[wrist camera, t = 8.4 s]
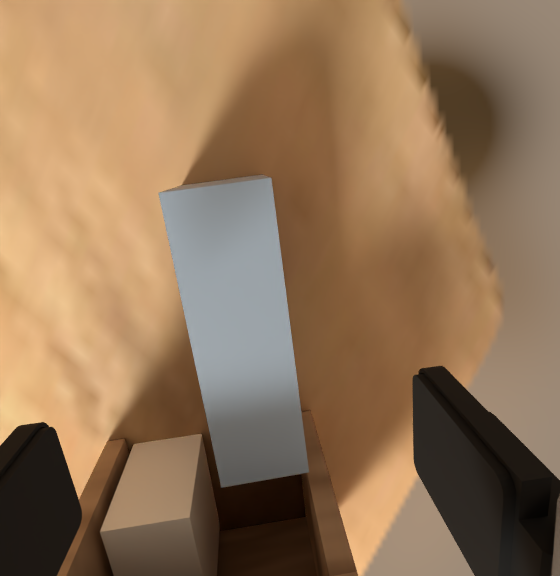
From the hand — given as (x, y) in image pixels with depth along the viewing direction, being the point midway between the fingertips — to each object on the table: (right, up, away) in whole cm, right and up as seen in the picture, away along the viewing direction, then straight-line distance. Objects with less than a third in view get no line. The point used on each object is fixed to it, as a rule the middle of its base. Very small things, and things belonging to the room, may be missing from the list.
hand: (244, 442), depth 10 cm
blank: (-1, +3, +11) cm, 12 cm away
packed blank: (-5, -8, +14) cm, 17 cm away
